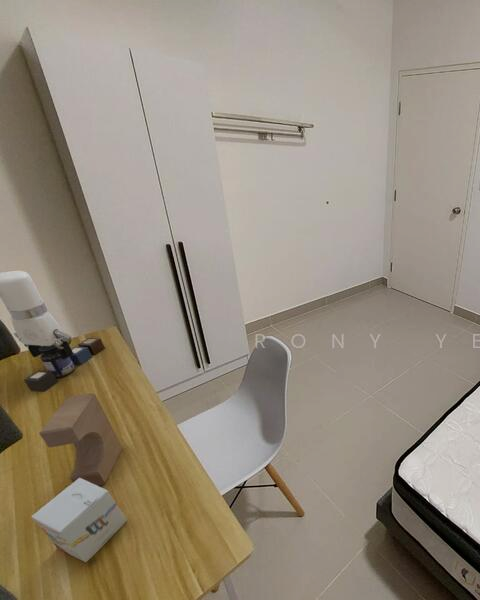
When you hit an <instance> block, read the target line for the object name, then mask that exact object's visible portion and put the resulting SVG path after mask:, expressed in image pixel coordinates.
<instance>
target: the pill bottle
mask: <svg viewBox="0 0 480 600" xmlns="http://www.w3.org/2000/svg"><path fill="white" fill-rule="evenodd" d="M58 349H59V348H58V347H56V346H55V345H51V346H42V347H40V348H39V351H40V353H42V354H40V360H41V363H43V366H44V367H45V369H46V371H52V372H53V374H54V376H55V377H56V379H60V378H63V377H67V376H69V375H71V374H73V372H75V370H76V366H75V365H74V364H73V362H72V361H71V359H70V357H68V358H66V359H62V357H61V355H60V353H59V351H58Z"/></svg>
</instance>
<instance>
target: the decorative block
mask: <svg viewBox="0 0 480 600" xmlns="http://www.w3.org/2000/svg"><path fill="white" fill-rule="evenodd" d="M38 434H39V435H40V437H41V439H42V440H43V441H44V443H45V444H46V446H47V447H48V448H54V447H61V446H66V445H71V444H72V445H73V446H74V448H75V461H74V467H73V470H72V472H71V474H70V477H69V479H70V481H71V482H72V483H74V482H75V481H76V480H77V479H78V478H81V479H84V480H86V481H88V482H90V483H93V484H95V485H97V486H99V487H101V486H104V485H105V484H106V483H107V480H108V479H109V476H110V475H111V473H112V470H113V469H114V466H115V464H116V462H117V460H118V458H119V457H120V454H121V452H122V450H123V445H122V443H121V440H120V439H119V437H118V435H117V434H116V431H115V429H114V428H113V426H112V424H111V422H110V420H109V418H108V416H107V414H106V412H105V411H104V409H103V407H102V405H101V403H100V401H99V398H98V397H97V395H96V393H94V392H90V393H84V394H77V395H71V396H67V397H66V398H65V399H64V400H63V402H61V404H60V405H59V407H58V408H57V410H56V411H55V412H54V413H53V414H52V416H51V417H50V418H49V420H47V422H46V423H45V425H44V426H43V427H42V428H41V430H40V431H39V433H38Z"/></svg>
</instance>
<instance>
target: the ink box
mask: <svg viewBox="0 0 480 600" xmlns="http://www.w3.org/2000/svg"><path fill="white" fill-rule="evenodd" d="M31 519H32V520H33V521H34V522H35V523H36V524H37V526H38V527H39V528H40V529H41V531H42V532H43V533H44V534H45V535H46V536H47V537H48V539H49V540H50V541H51V542H52V544H53V545H54V547H55V548H56V549H58V550H59V551H62V552H64V553H66V554H68V555H70V556H72V557H73V558H76V559H78V560H80V561H83V562H84V563H88V562H89V561H90V560H91V559H92V557H94V556H95V554H96V553H98V552H99V550H101V548H103V547H104V545H105V544H106V543H107V542H109V540H110V539H111V538H112V537H113V536H114V535H115V534H116V533H117V532H118V531H119V530H120V529H121V528H122V527H123V526H124V525H125V524H126V523H127V521H128V519H127V518H126V516H125V515H124V513H123V512H122V510H121V509H120V507H119V506H118V504H117V503H116V501H115V499H114V498H113V496H112V495H111V493H110V492H109V490H108V489H106V488H103V487H101V486H97V485H95V484H93V483H90V482H88V481H86V480H84V479H81V478H78V479H77V480H76V481H75V482H74V483H73V482H72V483H71V484H70V485H68V486H67V487H65V488H64V489H63V490H62V491H61V492H59V493H58V494H57V495H56V496H54V497H53V498H52V499H51V500H50V501H48V502H47V503H46V504H44V505H43V506H42V507H41V508H39V509H38V510H37V511H36V512H35V513H33V514H32V515H31Z"/></svg>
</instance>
